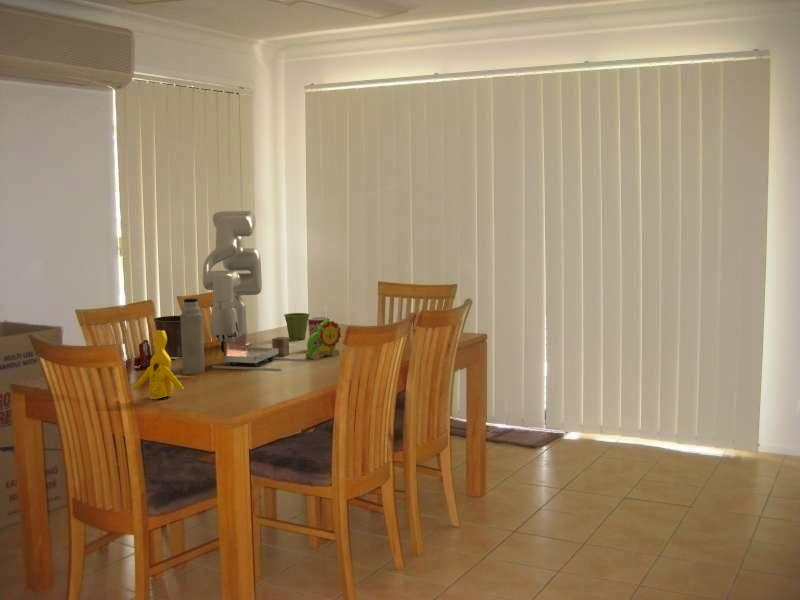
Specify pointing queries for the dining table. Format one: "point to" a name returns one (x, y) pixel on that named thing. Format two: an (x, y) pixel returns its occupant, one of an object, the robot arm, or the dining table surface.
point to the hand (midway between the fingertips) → (225, 351)
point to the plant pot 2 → (297, 325)
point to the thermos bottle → (192, 338)
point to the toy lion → (324, 340)
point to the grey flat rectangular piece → (259, 367)
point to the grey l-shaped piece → (245, 351)
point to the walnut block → (281, 346)
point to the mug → (315, 327)
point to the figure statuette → (159, 370)
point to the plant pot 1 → (171, 334)
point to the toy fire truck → (144, 354)
